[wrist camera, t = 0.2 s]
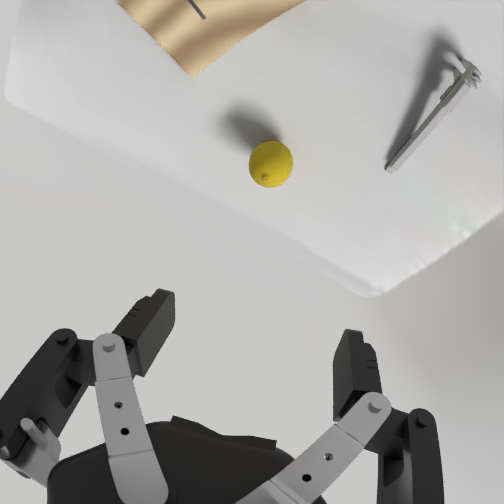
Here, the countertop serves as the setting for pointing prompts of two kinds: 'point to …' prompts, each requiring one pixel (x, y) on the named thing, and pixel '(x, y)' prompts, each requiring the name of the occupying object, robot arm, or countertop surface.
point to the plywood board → (203, 25)
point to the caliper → (439, 111)
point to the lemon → (270, 164)
